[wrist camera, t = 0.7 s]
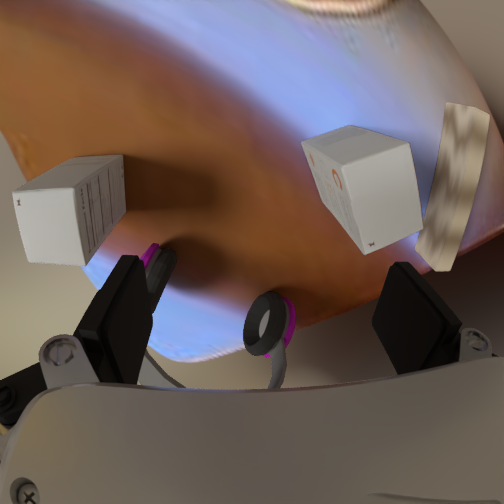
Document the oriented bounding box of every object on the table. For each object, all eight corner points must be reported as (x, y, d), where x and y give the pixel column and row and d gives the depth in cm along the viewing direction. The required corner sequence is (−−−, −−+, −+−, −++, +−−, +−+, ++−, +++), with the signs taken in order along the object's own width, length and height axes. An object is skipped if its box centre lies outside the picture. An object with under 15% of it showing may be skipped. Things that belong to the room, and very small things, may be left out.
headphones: (295, 287, 40) (331, 414, 23) (263, 328, 44) (279, 449, 27) (152, 225, 34) (92, 349, 17) (132, 278, 38) (84, 400, 21)
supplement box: (77, 212, 32) (25, 263, 22) (72, 156, 29) (9, 190, 18) (128, 213, 33) (86, 269, 22) (125, 153, 30) (73, 186, 19)
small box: (367, 184, 33) (425, 230, 22) (321, 202, 34) (363, 258, 23) (349, 122, 29) (411, 141, 18) (299, 140, 30) (338, 167, 19)
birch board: (445, 102, 28) (475, 107, 22) (460, 108, 28) (489, 114, 23) (414, 249, 38) (435, 271, 33) (428, 249, 39) (449, 270, 34)
